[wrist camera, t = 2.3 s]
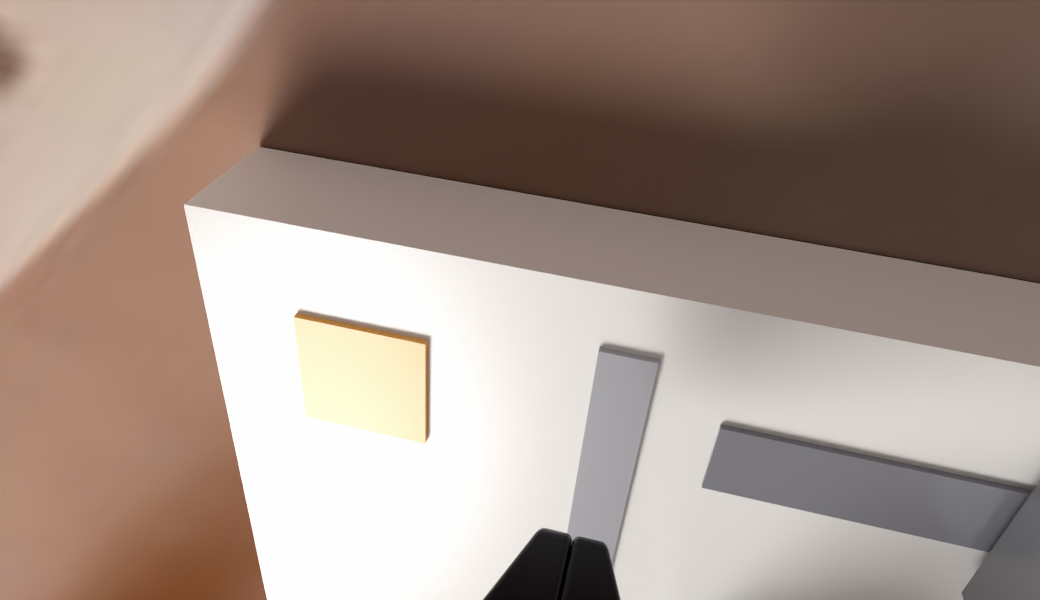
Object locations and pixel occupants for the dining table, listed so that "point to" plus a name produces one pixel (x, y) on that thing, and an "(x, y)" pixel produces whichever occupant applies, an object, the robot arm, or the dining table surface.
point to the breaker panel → (601, 394)
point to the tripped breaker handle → (1012, 560)
